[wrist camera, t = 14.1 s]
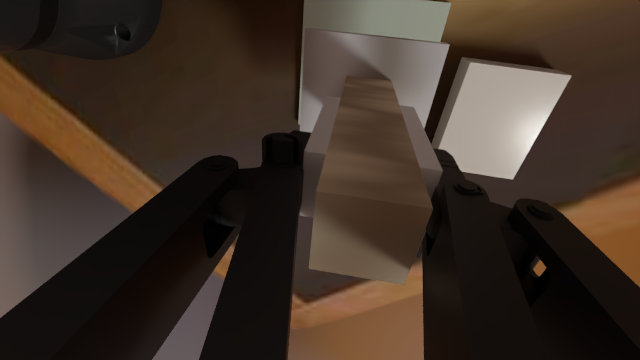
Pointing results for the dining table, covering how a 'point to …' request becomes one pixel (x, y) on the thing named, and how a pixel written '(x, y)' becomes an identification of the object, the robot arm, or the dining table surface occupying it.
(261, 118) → the dining table surface
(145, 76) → the dining table surface
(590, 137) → the dining table surface
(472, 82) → the tile
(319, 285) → the dining table surface
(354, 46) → the wooden handled stamp
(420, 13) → the mat
